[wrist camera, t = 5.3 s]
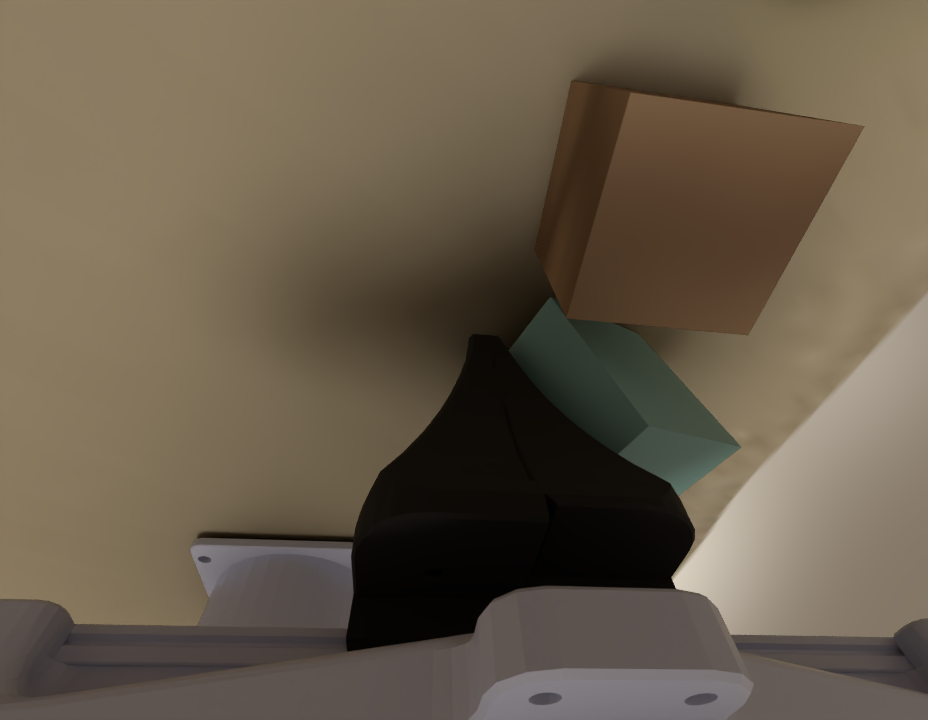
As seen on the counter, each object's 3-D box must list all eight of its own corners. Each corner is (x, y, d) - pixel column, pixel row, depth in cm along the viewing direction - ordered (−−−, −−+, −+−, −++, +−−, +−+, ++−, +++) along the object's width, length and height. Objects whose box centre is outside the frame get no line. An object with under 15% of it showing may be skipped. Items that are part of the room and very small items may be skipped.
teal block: (543, 434, 16) (606, 551, 13) (455, 419, 14) (506, 555, 11) (638, 333, 14) (741, 447, 11) (550, 296, 12) (648, 425, 9)
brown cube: (669, 262, 13) (748, 334, 10) (534, 248, 12) (566, 317, 9) (733, 104, 11) (864, 126, 7) (570, 80, 10) (630, 92, 7)
